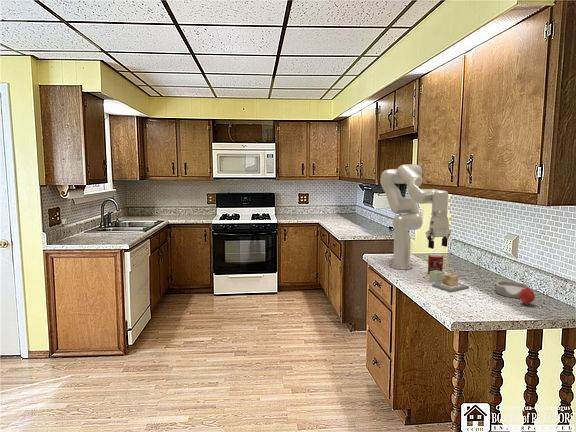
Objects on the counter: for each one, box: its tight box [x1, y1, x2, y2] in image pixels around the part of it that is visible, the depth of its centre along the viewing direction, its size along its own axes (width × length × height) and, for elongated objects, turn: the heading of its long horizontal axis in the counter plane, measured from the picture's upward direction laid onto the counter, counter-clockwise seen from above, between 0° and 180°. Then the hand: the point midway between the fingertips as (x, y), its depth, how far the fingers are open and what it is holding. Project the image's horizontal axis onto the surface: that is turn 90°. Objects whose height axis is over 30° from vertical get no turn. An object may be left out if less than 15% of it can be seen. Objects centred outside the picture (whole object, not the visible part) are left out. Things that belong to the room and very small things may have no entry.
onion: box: [519, 286, 536, 305], centre depth 171 cm, size 6×6×8 cm
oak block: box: [443, 272, 459, 287], centre depth 196 cm, size 5×5×5 cm
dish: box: [493, 280, 531, 299], centre depth 186 cm, size 14×14×5 cm
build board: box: [431, 282, 470, 293], centre depth 196 cm, size 11×13×1 cm
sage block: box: [428, 270, 445, 283], centre depth 208 cm, size 5×5×5 cm
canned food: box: [427, 252, 444, 275], centre depth 221 cm, size 8×8×11 cm
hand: (437, 247), depth 206 cm, fingers open, 9 cm apart
